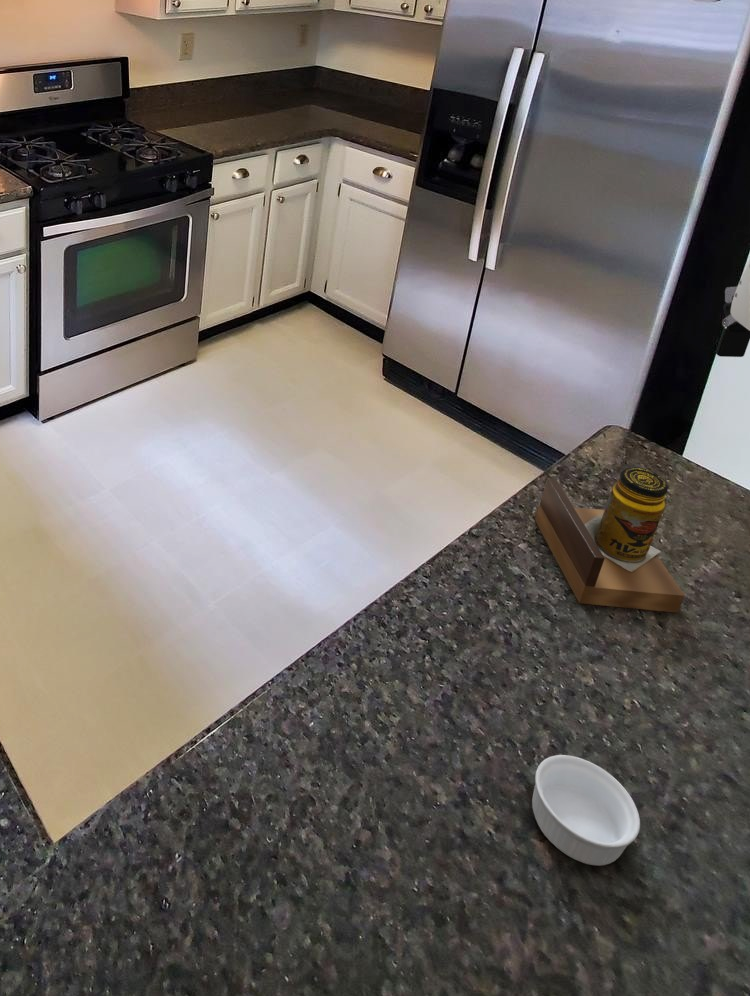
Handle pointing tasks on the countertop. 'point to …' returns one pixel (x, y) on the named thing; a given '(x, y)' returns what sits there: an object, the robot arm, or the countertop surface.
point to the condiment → (630, 518)
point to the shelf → (600, 560)
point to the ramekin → (583, 810)
